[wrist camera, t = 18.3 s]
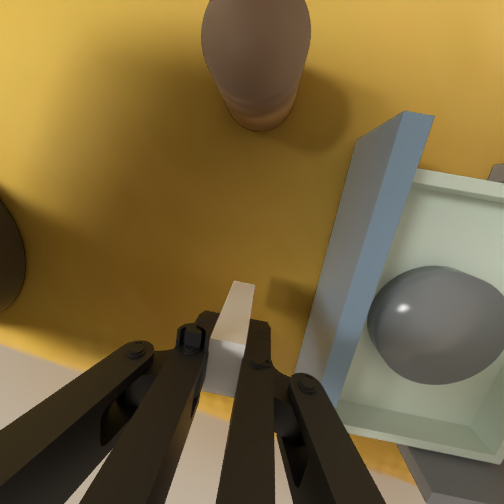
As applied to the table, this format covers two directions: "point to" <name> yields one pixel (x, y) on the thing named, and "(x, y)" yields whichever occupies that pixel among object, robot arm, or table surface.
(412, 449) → the dock
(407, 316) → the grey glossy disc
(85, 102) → the table surface
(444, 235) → the tray
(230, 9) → the brown oval piece
